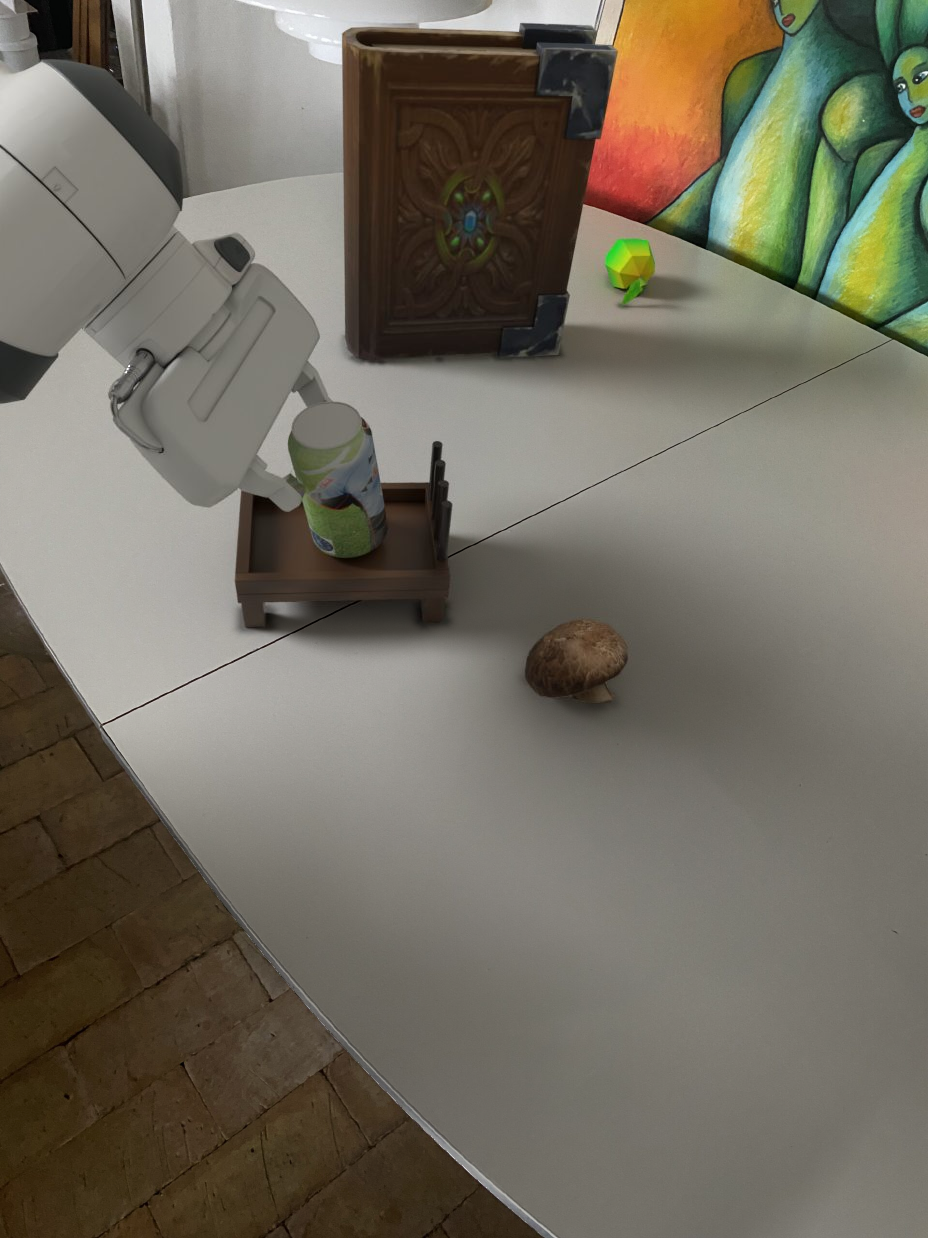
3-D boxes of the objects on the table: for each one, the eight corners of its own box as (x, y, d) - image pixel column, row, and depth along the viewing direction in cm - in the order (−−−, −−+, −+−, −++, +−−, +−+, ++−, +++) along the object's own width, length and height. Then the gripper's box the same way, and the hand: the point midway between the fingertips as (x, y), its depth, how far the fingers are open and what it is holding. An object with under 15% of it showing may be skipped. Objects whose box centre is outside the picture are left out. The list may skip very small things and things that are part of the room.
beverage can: (401, 549, 70) (407, 425, 61) (319, 582, 67) (313, 457, 58) (361, 503, 73) (362, 379, 64) (281, 533, 70) (270, 407, 61)
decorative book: (540, 321, 103) (591, 24, 80) (558, 355, 98) (618, 50, 76) (341, 330, 98) (337, 15, 75) (351, 366, 93) (350, 42, 71)
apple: (626, 214, 107) (655, 248, 101) (653, 246, 111) (682, 280, 106) (583, 258, 110) (608, 293, 104) (610, 287, 114) (637, 323, 109)
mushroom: (657, 704, 63) (629, 630, 60) (554, 747, 63) (523, 675, 61) (626, 660, 70) (601, 593, 68) (535, 698, 70) (506, 633, 68)
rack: (241, 629, 68) (225, 525, 60) (247, 532, 75) (234, 427, 67) (445, 623, 70) (456, 522, 62) (432, 529, 77) (441, 428, 69)
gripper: (125, 378, 48) (303, 539, 55) (248, 221, 62) (379, 366, 69) (67, 429, 52) (242, 574, 59) (195, 270, 66) (325, 403, 72)
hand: (316, 460), depth 64 cm, fingers open, 8 cm apart
